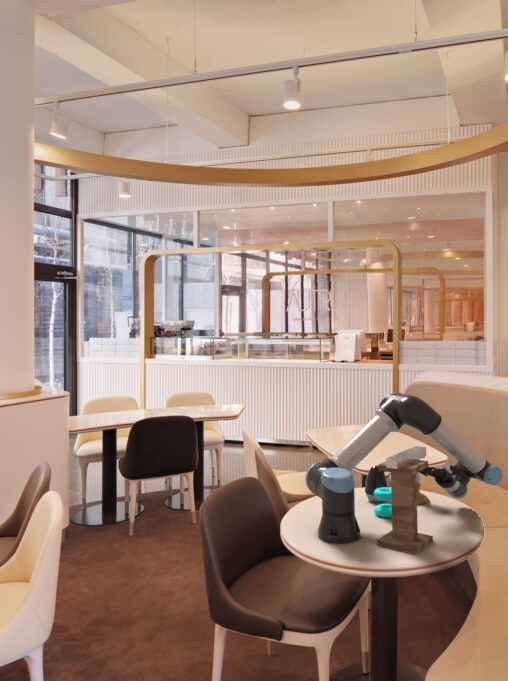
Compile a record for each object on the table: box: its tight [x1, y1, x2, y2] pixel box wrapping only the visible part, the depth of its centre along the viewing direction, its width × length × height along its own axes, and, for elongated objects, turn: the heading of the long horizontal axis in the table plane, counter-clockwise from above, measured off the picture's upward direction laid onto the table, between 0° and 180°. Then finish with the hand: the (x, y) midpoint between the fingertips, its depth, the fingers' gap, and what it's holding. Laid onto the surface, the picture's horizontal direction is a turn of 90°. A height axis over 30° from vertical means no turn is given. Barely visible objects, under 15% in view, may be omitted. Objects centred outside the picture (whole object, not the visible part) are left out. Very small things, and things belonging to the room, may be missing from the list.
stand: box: [376, 459, 434, 555], centre depth 198 cm, size 14×14×28 cm
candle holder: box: [416, 456, 430, 505], centre depth 247 cm, size 12×12×20 cm
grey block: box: [385, 445, 427, 469], centre depth 200 cm, size 24×4×3 cm, turn 141°
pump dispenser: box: [364, 464, 388, 503], centre depth 249 cm, size 10×10×15 cm
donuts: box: [373, 487, 392, 519], centre depth 229 cm, size 10×10×10 cm
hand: (427, 461), depth 214 cm, fingers open, 13 cm apart
